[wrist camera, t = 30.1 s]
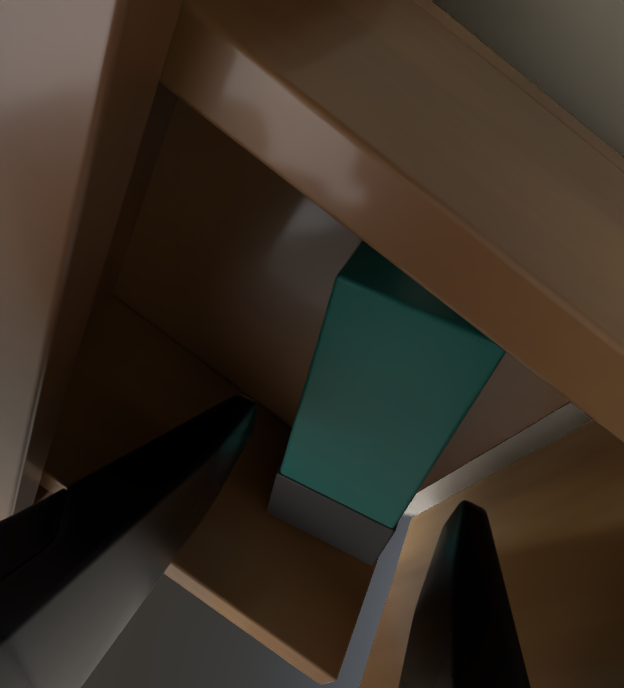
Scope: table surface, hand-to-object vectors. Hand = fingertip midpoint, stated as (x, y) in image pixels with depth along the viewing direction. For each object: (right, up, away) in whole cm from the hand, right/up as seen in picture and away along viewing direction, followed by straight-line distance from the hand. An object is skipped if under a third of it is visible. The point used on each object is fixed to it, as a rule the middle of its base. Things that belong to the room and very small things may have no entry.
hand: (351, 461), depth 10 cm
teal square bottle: (+1, +2, +2) cm, 3 cm away
